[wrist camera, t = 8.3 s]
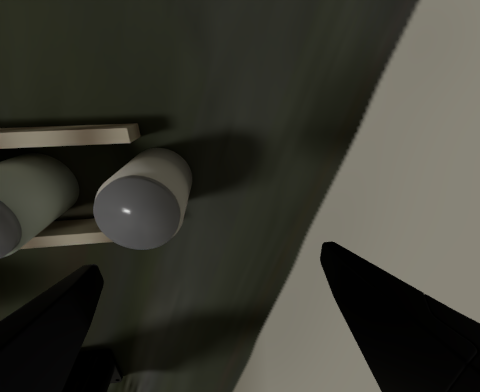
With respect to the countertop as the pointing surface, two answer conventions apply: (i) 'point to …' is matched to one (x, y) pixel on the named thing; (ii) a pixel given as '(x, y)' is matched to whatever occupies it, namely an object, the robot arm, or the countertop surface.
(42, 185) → the jar in lane
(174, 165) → the jar
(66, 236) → the lane
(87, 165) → the countertop surface
